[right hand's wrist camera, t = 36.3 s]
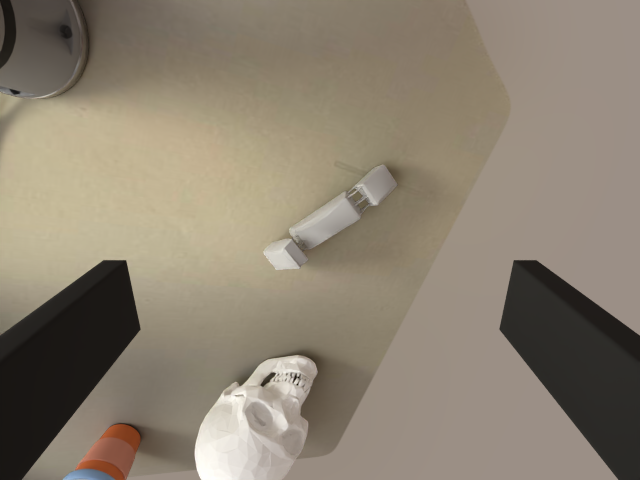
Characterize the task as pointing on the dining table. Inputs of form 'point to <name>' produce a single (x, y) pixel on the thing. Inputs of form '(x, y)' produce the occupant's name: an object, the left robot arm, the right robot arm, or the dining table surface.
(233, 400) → the skull
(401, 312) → the dining table surface
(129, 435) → the cup with straw
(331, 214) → the white segmented block model
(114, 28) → the dining table surface
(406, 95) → the dining table surface
